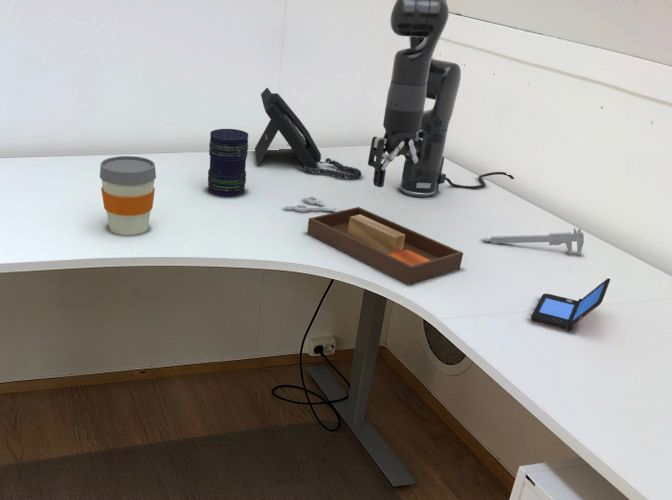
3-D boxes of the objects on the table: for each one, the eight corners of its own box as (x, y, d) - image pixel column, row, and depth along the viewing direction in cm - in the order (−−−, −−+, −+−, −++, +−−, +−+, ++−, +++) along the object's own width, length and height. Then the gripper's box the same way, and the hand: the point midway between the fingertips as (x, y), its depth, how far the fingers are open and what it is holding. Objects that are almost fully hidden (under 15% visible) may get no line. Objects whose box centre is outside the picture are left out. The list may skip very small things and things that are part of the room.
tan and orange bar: (361, 231, 183) (364, 213, 181) (434, 265, 168) (438, 246, 165) (342, 236, 180) (345, 217, 178) (415, 271, 165) (418, 251, 163)
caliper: (579, 254, 178) (587, 228, 175) (579, 256, 177) (587, 229, 174) (484, 241, 183) (490, 215, 180) (484, 242, 182) (490, 216, 179)
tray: (356, 221, 191) (358, 206, 189) (459, 269, 169) (463, 252, 167) (306, 233, 183) (308, 218, 181) (408, 285, 161) (411, 268, 159)
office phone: (362, 180, 218) (373, 106, 208) (260, 177, 218) (265, 102, 207) (346, 150, 243) (355, 82, 233) (254, 146, 243) (259, 78, 233)
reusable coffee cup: (131, 214, 191) (130, 152, 183) (166, 229, 183) (167, 165, 175) (90, 226, 183) (87, 162, 175) (125, 242, 175) (124, 176, 168)
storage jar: (201, 193, 205) (203, 135, 197) (215, 182, 213) (217, 126, 205) (237, 199, 202) (241, 141, 194) (250, 188, 209) (254, 131, 202)
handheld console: (541, 297, 158) (551, 263, 154) (599, 311, 153) (611, 277, 149) (528, 321, 149) (538, 286, 145) (589, 338, 144) (602, 301, 140)
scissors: (302, 194, 204) (377, 209, 196) (302, 197, 204) (376, 212, 196) (285, 206, 196) (362, 222, 188) (285, 209, 196) (361, 225, 188)
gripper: (393, 113, 154) (381, 194, 162) (443, 104, 160) (429, 182, 169) (366, 105, 159) (355, 183, 167) (415, 97, 166) (403, 172, 174)
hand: (392, 182), depth 168 cm, fingers open, 8 cm apart
